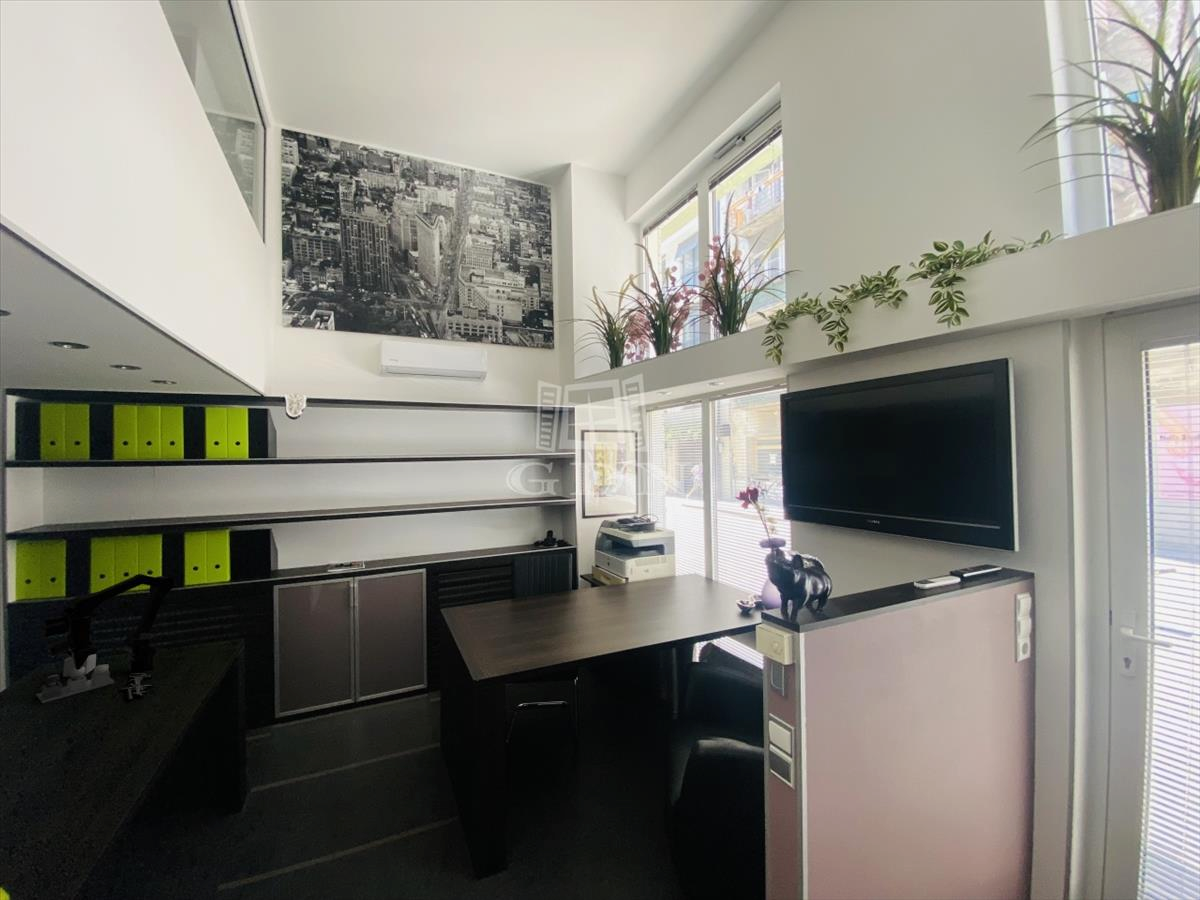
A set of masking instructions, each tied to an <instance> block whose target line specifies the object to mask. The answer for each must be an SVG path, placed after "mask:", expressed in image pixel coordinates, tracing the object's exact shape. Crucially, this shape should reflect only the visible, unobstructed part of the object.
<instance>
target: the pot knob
mask: <svg viewBox="0 0 1200 900" xmlns="http://www.w3.org/2000/svg"><path fill="white" fill-rule="evenodd" d="M59 680H60V674H57V673H56V674H52V675H47V676H46V678H45V683H46V684H49V686H48V687H52V686H56V682H59Z"/></svg>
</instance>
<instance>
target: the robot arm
mask: <svg viewBox="0 0 1200 900" xmlns="http://www.w3.org/2000/svg"><path fill="white" fill-rule="evenodd" d="M141 585H143V586H149V590H148V591H149V599H148V601H147V604H146V606H145V608H144V611H143V613H142V615H141V617H140V621H139V623H138V626H137V628H136V630H135V632H133V634H131V635H129V634H128V635H127V636H126V640H125V642H124V643H123V646H124V651H126V652H127V653H129V654H130V655H131V657H130V658H131V660H129V662H128V664H129V666H128V671H130V672H131V674H133V673H143V672H146V671H151V670H153V669H155V667H154V656H155V655H156V653H157V649H156V648H155V647H152V646H151V642H152V636H151V631H152V629H153V626H154V623H155V622H156V618H157V616H158V615H159V614H158V613H159V612H160V609H161V606H162V605H163V601H164V599H165V597H167V596H168V595H169V594H170V593H171V591H172V589H173V588H174V586H175V580H174V579H173V578H171V577H168V576H163V575H161V576H150V575H146V574H142V573H137V574H135V575H133V576H132V577H129V578H127V579H125V580H122V581H120V582H118V583H115V584H113V585H110V586H108V587H106V588H104V589H102V590H99V591H96V592H91V593H86V594H83V595H79V596H75V597H74V598H72V599H71V600H70V602H69V603H68V604H69V605H68V606H67V607H66V608H65V609H64V611H62V612H61V614H60V615H59V616H55V617H48V618H43V619H42V622H41V624H40V626H39V628H38V629H39V630H38V632H39V636H40V638H42V639H44V638H49V637H54V636H58V635H62V634H66V637H64V638H61V639H58V640H56V641H54V642H52V643H49V644H47V645H46V646H45V648H46V650H47V651H48V654H49V655H50V656H55V655H57V654H59V653H61V652H63V651H65V650H67V649H68V651H65V653H66V654H67V655H68V657H72V658H73V661H74V665H75V668H76V670H78V669H81V667H82V666H83V664H84V662H85V661H86V659H87V658H88V656H89V655H93V654H96V655H97V654H98V647H96V646H95V645H93V641H92V639H91V636H92V635H93V632H94V630H92V625H93V624H92V621H93V617H97V616H100V615H101V613H100V612H97V611H96V610H95V609H96V608H98V607H100V606H101V605H102V604H103V603H105V602H106V601H108V600H110V599H113V598H115V597H117V596H119V595H122V594H123V593H125V592H127V591H130V590H133V589H134V588H136V587H139V586H141ZM66 632H67V633H66ZM90 644H92V645H90ZM87 645H89V646H87Z"/></svg>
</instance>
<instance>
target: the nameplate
mask: <svg viewBox="0 0 1200 900" xmlns="http://www.w3.org/2000/svg"><path fill="white" fill-rule="evenodd" d="M127 678H128V686H129V687H124V688H123V687H122V688H119V689H118V690H117V693H118V694H121V693H126V696H127V697H126V698H127V701H128V703H132V702H134V698H136V699H137V698H139V699H144V698H145V696H146V695H147V694H148V689H150V690H151V689H153V688H154V684H143V683H144V682H145V681H148V680H149V681H150V680H152V679H153V675H151V674H148V673H145V672H144V673H143V672H139V673H130V674H129V675H128V677H127Z"/></svg>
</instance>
